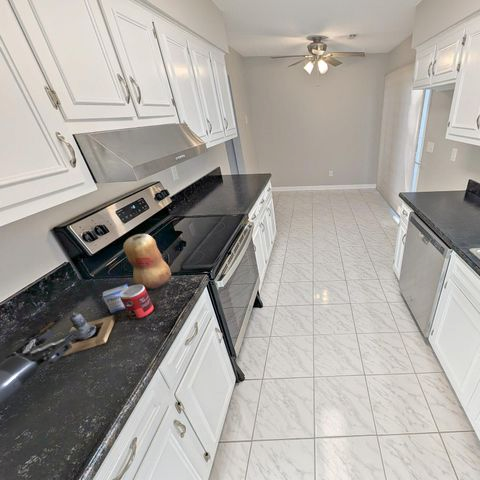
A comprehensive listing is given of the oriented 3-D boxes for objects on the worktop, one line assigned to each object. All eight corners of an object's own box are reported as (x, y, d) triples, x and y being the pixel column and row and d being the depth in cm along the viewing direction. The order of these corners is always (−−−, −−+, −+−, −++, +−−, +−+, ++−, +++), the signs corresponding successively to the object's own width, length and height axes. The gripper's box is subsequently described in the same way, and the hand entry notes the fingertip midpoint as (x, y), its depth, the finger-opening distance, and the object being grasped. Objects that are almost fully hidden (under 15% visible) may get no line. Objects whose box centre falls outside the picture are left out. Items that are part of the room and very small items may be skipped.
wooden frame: (59, 358, 81) (55, 353, 80) (75, 331, 92) (72, 326, 91) (106, 344, 86) (103, 339, 84) (116, 320, 96) (113, 315, 95)
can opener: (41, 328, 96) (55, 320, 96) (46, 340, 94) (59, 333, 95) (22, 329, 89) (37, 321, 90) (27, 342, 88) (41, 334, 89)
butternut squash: (138, 299, 106) (113, 247, 95) (141, 283, 117) (118, 235, 106) (174, 288, 112) (154, 238, 101) (174, 274, 123) (156, 227, 112)
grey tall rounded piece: (76, 341, 88) (58, 314, 82) (96, 330, 92) (80, 304, 87) (82, 348, 85) (63, 321, 79) (103, 336, 89) (86, 310, 84)
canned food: (129, 313, 99) (117, 290, 94) (152, 303, 104) (142, 281, 99) (131, 323, 94) (119, 300, 89) (156, 313, 98) (145, 290, 93)
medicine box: (111, 314, 99) (101, 297, 95) (112, 308, 102) (102, 291, 98) (135, 305, 103) (126, 288, 99) (134, 300, 106) (126, 283, 102)
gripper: (20, 370, 64) (78, 322, 78) (-31, 370, 65) (36, 323, 79) (37, 389, 67) (89, 340, 81) (-12, 389, 68) (49, 340, 82)
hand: (63, 332), depth 80 cm, fingers open, 8 cm apart
